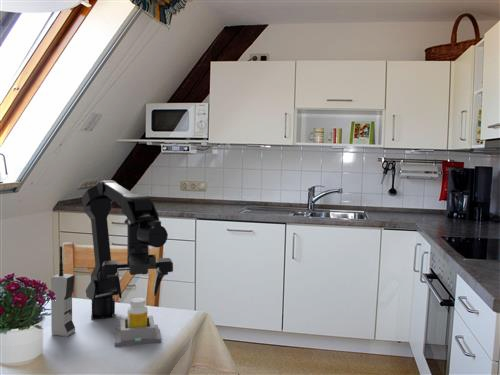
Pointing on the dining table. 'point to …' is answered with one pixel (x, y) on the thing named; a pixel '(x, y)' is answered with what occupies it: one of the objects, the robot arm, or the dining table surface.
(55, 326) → the vintage mobile phone
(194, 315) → the dining table surface
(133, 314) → the supplement bottle
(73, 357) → the dining table surface
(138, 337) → the charging dock
